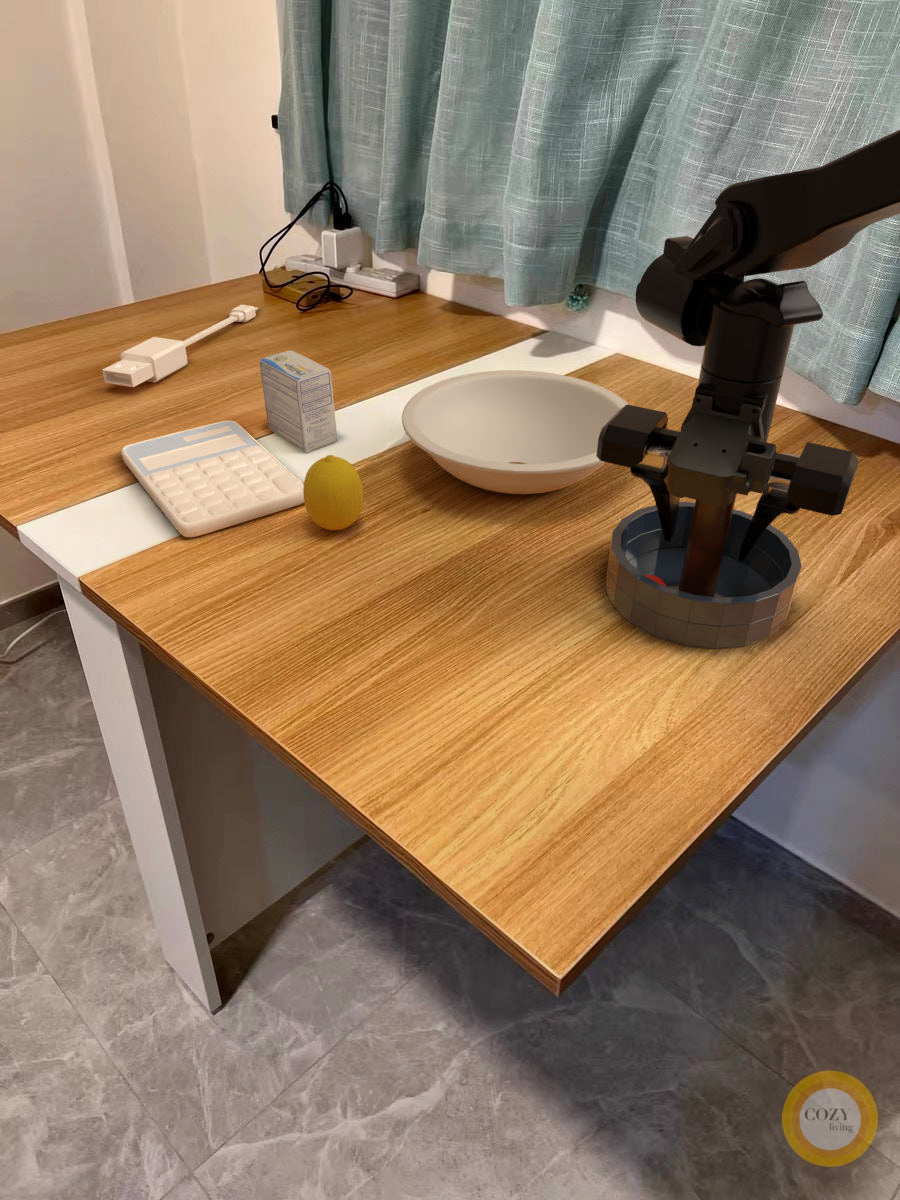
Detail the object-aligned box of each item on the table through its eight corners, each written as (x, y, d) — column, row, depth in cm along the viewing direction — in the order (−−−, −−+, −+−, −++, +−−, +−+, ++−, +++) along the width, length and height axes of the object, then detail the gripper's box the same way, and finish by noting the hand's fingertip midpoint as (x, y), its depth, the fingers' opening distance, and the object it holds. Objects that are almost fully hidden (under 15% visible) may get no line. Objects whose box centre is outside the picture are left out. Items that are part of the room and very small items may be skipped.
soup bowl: (573, 412, 106) (578, 359, 102) (672, 509, 88) (683, 449, 84) (379, 439, 100) (376, 383, 96) (442, 549, 82) (442, 487, 78)
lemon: (338, 553, 82) (331, 476, 77) (295, 534, 84) (286, 458, 79) (377, 528, 85) (373, 453, 80) (335, 510, 88) (329, 436, 83)
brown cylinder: (718, 587, 76) (743, 474, 70) (708, 606, 74) (734, 490, 68) (684, 578, 77) (706, 465, 71) (674, 596, 75) (695, 481, 69)
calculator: (185, 543, 83) (181, 525, 82) (119, 459, 96) (116, 443, 95) (313, 503, 89) (311, 486, 88) (235, 430, 102) (232, 414, 101)
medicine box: (338, 442, 100) (332, 368, 95) (305, 454, 97) (297, 379, 92) (299, 419, 105) (292, 348, 99) (267, 430, 102) (257, 358, 97)
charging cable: (269, 321, 134) (266, 298, 133) (137, 394, 109) (132, 368, 107) (240, 317, 136) (237, 295, 134) (103, 388, 111) (97, 362, 109)
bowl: (802, 577, 79) (816, 529, 76) (763, 676, 68) (778, 625, 65) (638, 533, 85) (645, 487, 82) (578, 618, 74) (584, 568, 71)
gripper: (579, 382, 62) (562, 566, 71) (861, 439, 55) (801, 636, 64) (632, 333, 70) (610, 505, 79) (885, 377, 63) (828, 561, 72)
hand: (704, 549), depth 73 cm, fingers open, 6 cm apart
